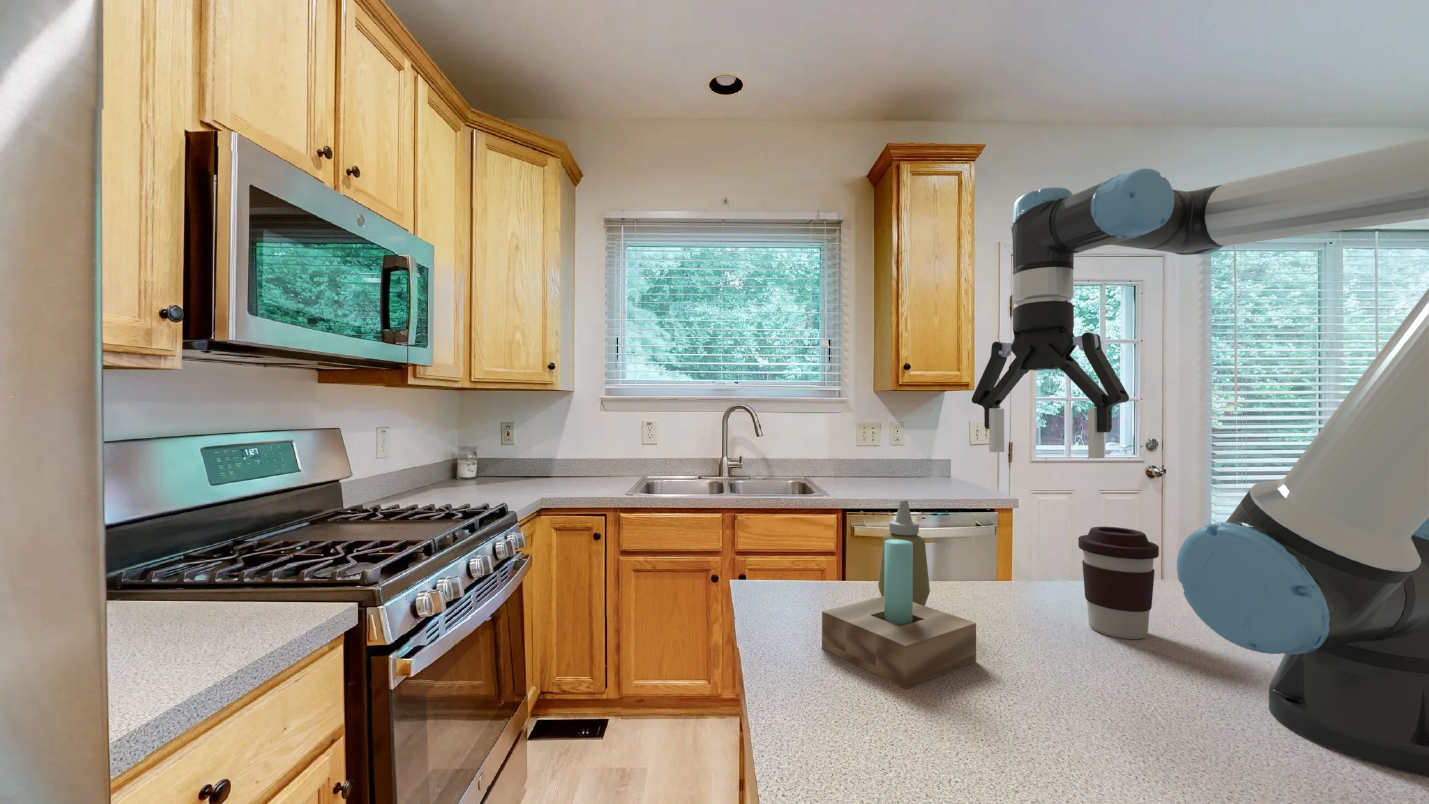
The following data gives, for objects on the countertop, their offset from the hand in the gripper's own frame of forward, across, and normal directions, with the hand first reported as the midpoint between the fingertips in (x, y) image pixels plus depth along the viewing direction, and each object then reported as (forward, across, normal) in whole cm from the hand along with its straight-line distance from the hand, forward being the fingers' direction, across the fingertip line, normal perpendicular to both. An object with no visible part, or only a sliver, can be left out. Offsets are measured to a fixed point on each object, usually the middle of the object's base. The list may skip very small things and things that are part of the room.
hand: (1043, 455), depth 82 cm
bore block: (+27, +9, +20) cm, 34 cm away
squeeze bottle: (+27, +20, +5) cm, 34 cm away
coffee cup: (+27, -3, -15) cm, 31 cm away
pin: (+26, +9, +20) cm, 34 cm away
